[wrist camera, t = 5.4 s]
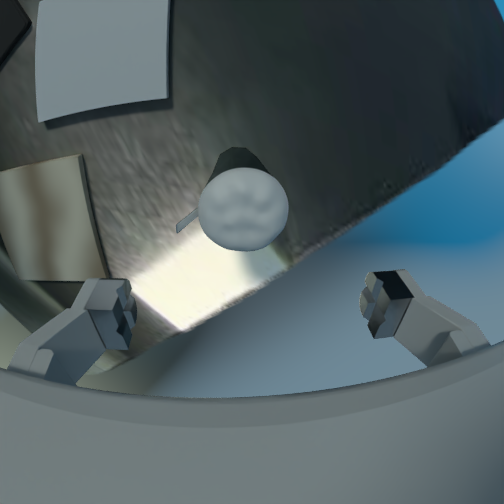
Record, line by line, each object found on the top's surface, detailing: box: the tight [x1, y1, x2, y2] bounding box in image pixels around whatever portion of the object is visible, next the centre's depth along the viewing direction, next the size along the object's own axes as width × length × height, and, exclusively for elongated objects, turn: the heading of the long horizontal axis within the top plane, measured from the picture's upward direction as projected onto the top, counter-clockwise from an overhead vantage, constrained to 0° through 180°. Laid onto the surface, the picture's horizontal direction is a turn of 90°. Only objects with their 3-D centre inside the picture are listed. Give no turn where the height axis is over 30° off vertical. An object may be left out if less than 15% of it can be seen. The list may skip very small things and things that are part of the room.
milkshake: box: [176, 147, 288, 251], centre depth 17 cm, size 4×5×10 cm
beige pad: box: [0, 154, 109, 281], centre depth 21 cm, size 12×12×1 cm
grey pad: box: [35, 0, 170, 123], centre depth 14 cm, size 11×11×1 cm
